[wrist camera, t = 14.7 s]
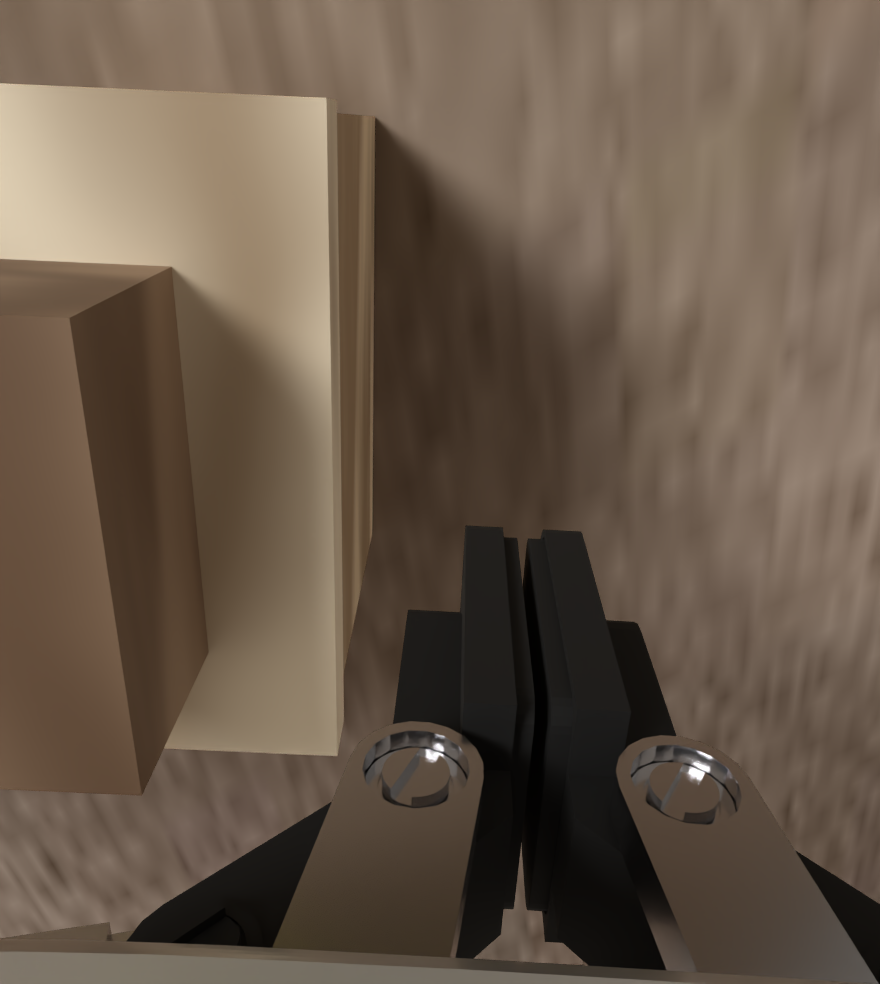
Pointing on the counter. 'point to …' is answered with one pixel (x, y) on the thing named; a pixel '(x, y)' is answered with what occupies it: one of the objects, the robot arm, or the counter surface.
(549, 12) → the counter surface
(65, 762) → the lid
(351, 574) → the wooden box
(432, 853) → the robot arm
